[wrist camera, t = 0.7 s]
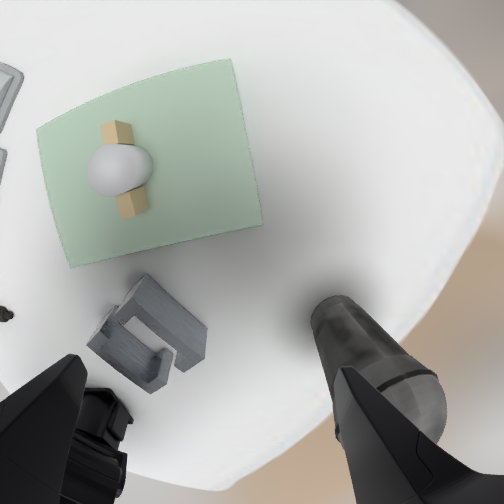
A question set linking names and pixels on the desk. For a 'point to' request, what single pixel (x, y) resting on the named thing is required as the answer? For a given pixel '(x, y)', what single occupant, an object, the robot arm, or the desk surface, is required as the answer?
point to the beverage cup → (377, 364)
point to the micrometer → (5, 315)
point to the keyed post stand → (150, 165)
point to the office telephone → (7, 100)
